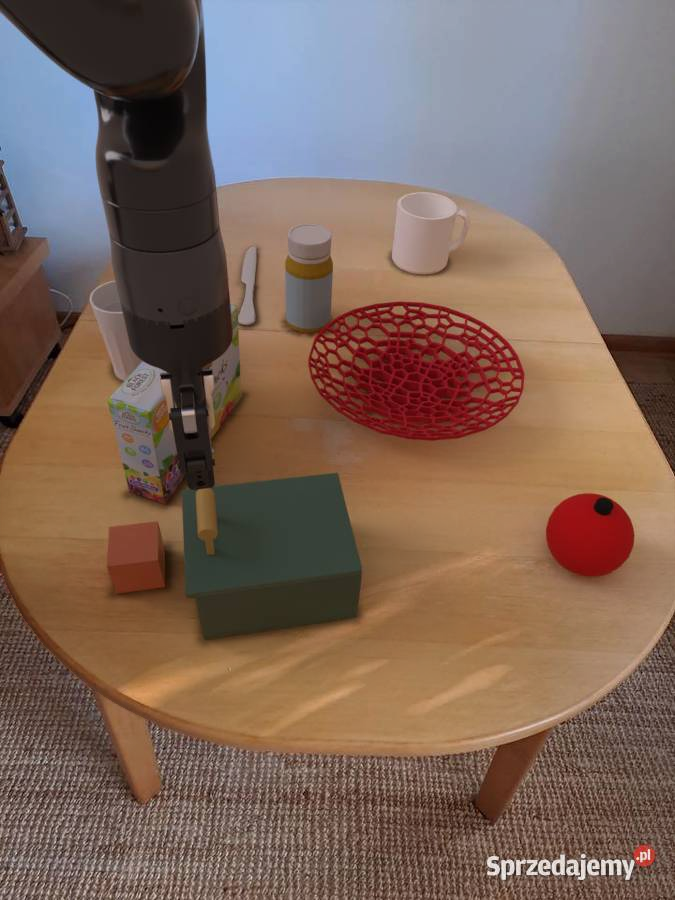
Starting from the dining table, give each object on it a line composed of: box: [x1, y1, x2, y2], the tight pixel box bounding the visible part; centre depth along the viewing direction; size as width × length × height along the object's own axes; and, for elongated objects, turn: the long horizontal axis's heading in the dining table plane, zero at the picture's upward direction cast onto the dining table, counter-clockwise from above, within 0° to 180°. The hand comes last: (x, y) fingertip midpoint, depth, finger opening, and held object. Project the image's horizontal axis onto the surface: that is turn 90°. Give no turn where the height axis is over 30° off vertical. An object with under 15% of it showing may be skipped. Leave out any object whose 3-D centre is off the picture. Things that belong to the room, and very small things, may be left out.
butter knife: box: [238, 245, 257, 326], centre depth 112 cm, size 1×24×3 cm
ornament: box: [545, 492, 636, 578], centre depth 72 cm, size 9×9×10 cm
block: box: [106, 520, 166, 595], centre depth 70 cm, size 5×5×5 cm
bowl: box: [307, 300, 525, 442], centre depth 93 cm, size 29×29×5 cm
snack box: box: [107, 303, 243, 505], centre depth 81 cm, size 21×6×15 cm, turn 161°
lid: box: [181, 472, 363, 599], centre depth 65 cm, size 16×13×5 cm
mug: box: [391, 191, 471, 276], centre depth 116 cm, size 13×10×10 cm
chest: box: [195, 574, 363, 641], centre depth 70 cm, size 16×13×8 cm
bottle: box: [284, 223, 334, 335], centre depth 100 cm, size 7×7×15 cm
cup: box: [89, 279, 143, 382], centre depth 91 cm, size 8×8×12 cm
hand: (199, 449), depth 58 cm, fingers open, 8 cm apart
